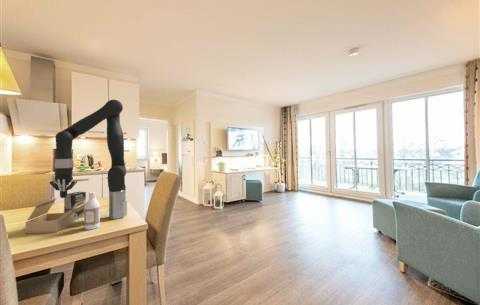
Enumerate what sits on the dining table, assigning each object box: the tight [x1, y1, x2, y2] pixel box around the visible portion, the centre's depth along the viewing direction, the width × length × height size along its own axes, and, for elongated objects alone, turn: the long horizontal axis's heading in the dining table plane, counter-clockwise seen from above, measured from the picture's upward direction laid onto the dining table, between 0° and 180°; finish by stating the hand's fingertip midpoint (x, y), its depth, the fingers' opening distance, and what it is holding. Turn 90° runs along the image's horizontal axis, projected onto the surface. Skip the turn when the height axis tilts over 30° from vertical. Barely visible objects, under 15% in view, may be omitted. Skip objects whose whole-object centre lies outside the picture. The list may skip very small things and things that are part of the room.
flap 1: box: [27, 197, 57, 221], centre depth 110 cm, size 1×12×10 cm
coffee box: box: [63, 191, 87, 221], centre depth 126 cm, size 9×6×16 cm
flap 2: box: [59, 203, 86, 219], centre depth 112 cm, size 1×12×10 cm
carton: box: [25, 212, 75, 235], centre depth 111 cm, size 14×14×6 cm
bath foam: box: [83, 191, 101, 231], centre depth 111 cm, size 7×7×20 cm
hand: (63, 197), depth 111 cm, fingers closed
